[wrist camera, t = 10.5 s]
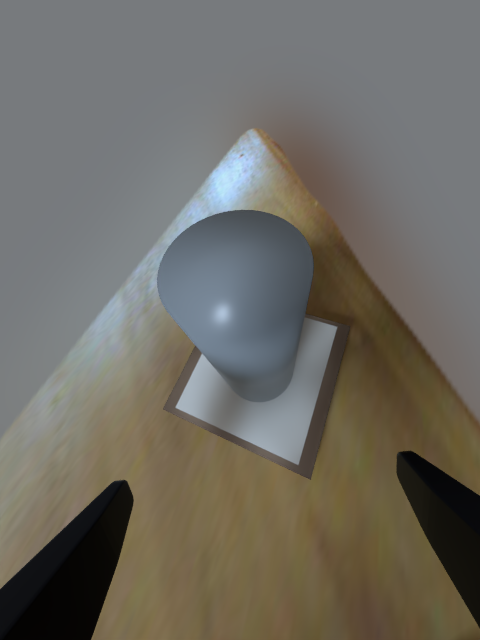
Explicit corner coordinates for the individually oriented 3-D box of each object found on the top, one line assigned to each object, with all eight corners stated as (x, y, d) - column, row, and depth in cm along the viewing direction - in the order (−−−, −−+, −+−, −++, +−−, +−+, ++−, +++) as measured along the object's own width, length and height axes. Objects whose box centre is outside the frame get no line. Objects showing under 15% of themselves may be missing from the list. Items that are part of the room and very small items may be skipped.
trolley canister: (302, 347, 21) (332, 223, 9) (280, 413, 19) (282, 363, 7) (240, 327, 22) (199, 200, 11) (213, 386, 20) (127, 308, 9)
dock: (343, 337, 23) (350, 325, 21) (306, 475, 19) (310, 480, 16) (228, 302, 27) (223, 288, 24) (174, 412, 22) (161, 408, 20)
